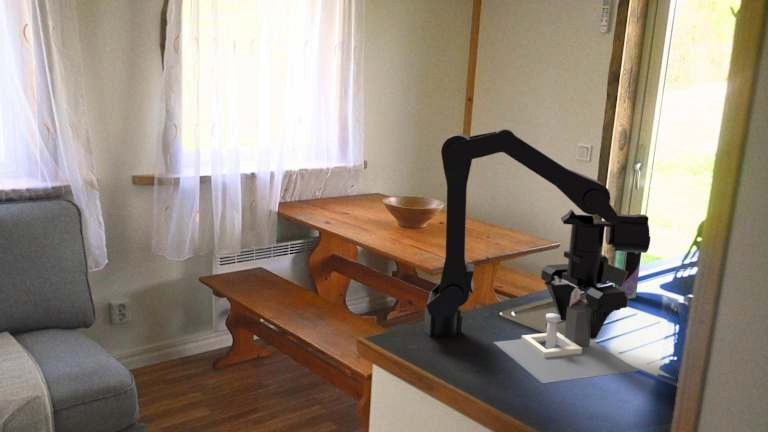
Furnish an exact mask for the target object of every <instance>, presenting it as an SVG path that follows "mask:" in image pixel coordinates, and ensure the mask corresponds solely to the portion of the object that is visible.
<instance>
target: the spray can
mask: <svg viewBox="0 0 768 432" xmlns="http://www.w3.org/2000/svg"><path fill="white" fill-rule="evenodd" d="M641 258H642V253H640V252H626V251H616V256H615V264H614V266H615V267H618V268H620V269H623V270H625V271H627V272H628V274H627V276H626V279H625V281H624V284H623V286H622V287H619V286H618V285H617V284H614V283H612V286H613V287H616V288H618V289H620V290H622V291H624V292H625V293H626V294H627V295H628V300H629V299H635V298H636V297H637V292H638V291H637V290H638V284H639V283H638V282H639V273H640V266H641V260H642V259H641Z"/></svg>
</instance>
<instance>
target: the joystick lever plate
mask: <svg viewBox="0 0 768 432" xmlns="http://www.w3.org/2000/svg"><path fill="white" fill-rule="evenodd" d="M546 335H547V332H542V333H532V334H526V335H525V334H523V335H522V334H521V336H520V339H521V341H522V342H524V343H525V344H526V345H528V346H529V347H530V348H532V349H533V350H534V351H536V352H537V353H538V354H540V355H541V356H542V357H544V358H546V357H554V356H563V355H572V354H580V353H582V348H581V347H587V346H589V344H590V340H591V338H590V337H589V332H588V326H587V319H586V313H585V306H584V305H572V306H570V307H567V314H566V320H565V326H564V334H561V333H560V332H558V331H557V336H556V341H558V342H559V343H561V344H562V345H564V346H565V347H555V348H552V349H548V348H546V347H545V346H543V345H541V343H537V342H538V341H546ZM563 335H564V336H563Z"/></svg>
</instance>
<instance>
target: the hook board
mask: <svg viewBox="0 0 768 432" xmlns="http://www.w3.org/2000/svg"><path fill="white" fill-rule="evenodd" d="M560 318H561V316H560V315H558V313H546V314H545V320H546V321H547V326H546V333H547V335H546V341H538V342H537V343H539V344H545V346H544V348H546V349H552V348H557V346H559V348H561V347H565V346H564V345H562V344H561V343H559V342H558V341H556V336H557V332H558V326H559V325H558V323H560V322H561V320H560ZM562 335H563V336H564V335H565V334H562ZM492 343H493V344H494V345H496V346H497V348H499V349H500V350H502V351H503V352H504V353H506V354H507V356H509V357H510V358H511V359H513V360H514V361H515V362H516V363H517V364H518V365H520V366H521V367H522V368H523V369H525V371H527V372H528V373H529V374H530V375H532V376H533V377H534V378H536V379H537V381H539V382H540V383H541V384H549V383H556V382H564V381H572V380H579V379H580V380H581V379H587V378H593V377H601V376H610V375H611V376H612V375H619V374H625V373H632V372H640V370H639V369H637V368H636V367H634V366H633V365H631V364H629V363H628V362H627V361H625V360H623V359H622V358H620V357H618V356H617V355H616V354H614V353H612V352H610V351H609V350H607V349H606V348H604V347H602V346H601V345H599V344H598V343H596V342H595V341H593V340H592V339H590V344H589V346H587V347H581V348H582V353H580V354H572V355H563V356H554V357H546V358H544V357H542V356H541V355H540V354H538V353H537V352H536V351H534V350H533V349H532V348H530V347H529V346H528V345H526V344H525V343H524V342H522V341H521V338H520V339H511V340H500V341H493V342H492ZM556 345H557V346H556Z"/></svg>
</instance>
